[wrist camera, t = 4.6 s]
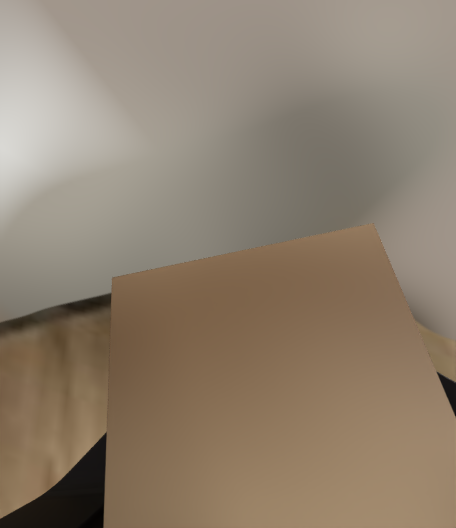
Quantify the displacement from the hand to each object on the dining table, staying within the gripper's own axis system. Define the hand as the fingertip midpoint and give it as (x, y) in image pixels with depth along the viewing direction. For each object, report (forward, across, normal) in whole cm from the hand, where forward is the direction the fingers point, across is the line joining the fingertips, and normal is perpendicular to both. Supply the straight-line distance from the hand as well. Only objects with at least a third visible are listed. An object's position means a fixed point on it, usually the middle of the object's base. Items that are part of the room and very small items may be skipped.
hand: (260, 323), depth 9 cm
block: (+4, 0, +6) cm, 7 cm away
